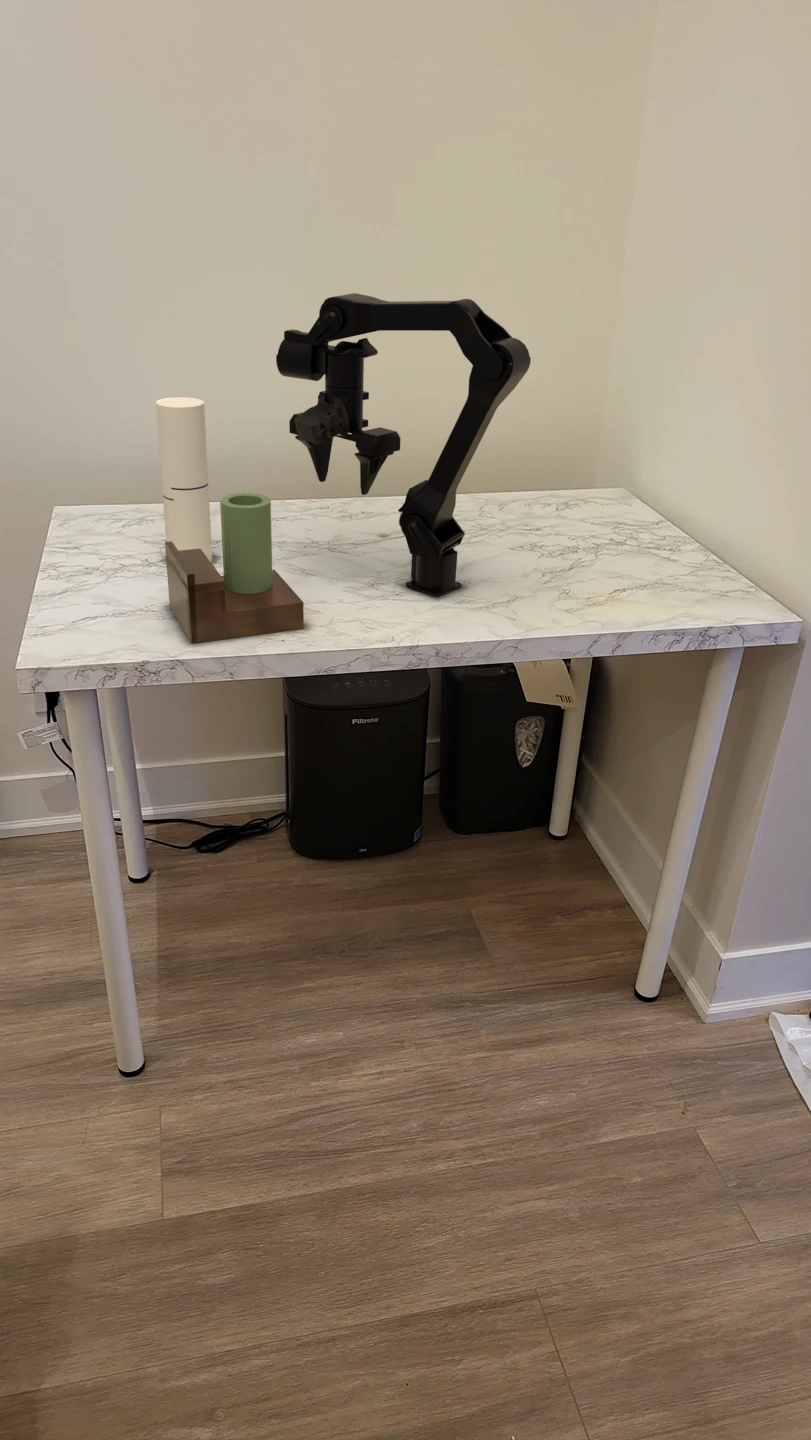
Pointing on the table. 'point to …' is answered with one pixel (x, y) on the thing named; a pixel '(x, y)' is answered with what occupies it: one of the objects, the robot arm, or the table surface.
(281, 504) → the table surface
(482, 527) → the table surface
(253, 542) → the jar
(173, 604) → the wooden l-shaped bookend
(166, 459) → the cylindrical container
